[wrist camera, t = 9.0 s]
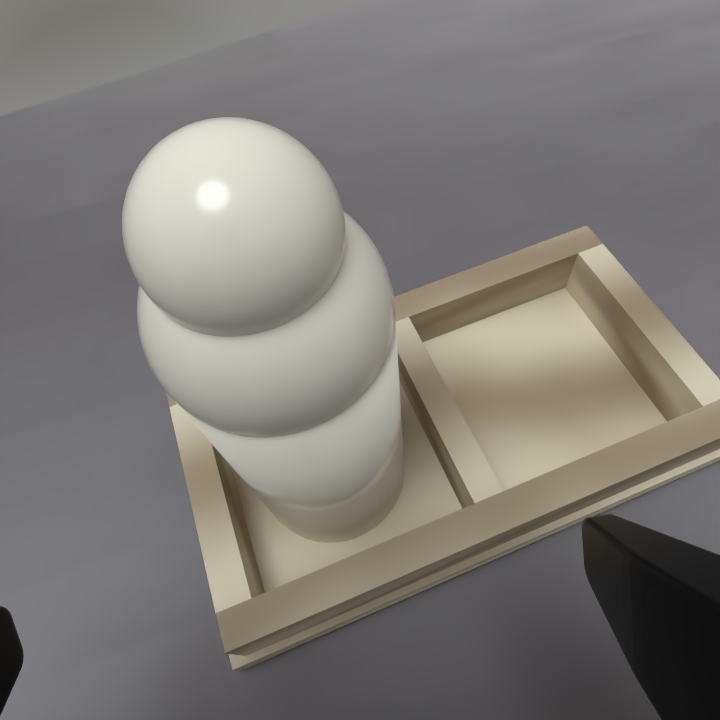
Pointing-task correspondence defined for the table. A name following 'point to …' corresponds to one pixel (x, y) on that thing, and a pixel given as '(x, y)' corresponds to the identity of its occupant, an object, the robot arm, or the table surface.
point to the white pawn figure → (270, 321)
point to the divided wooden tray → (473, 443)
